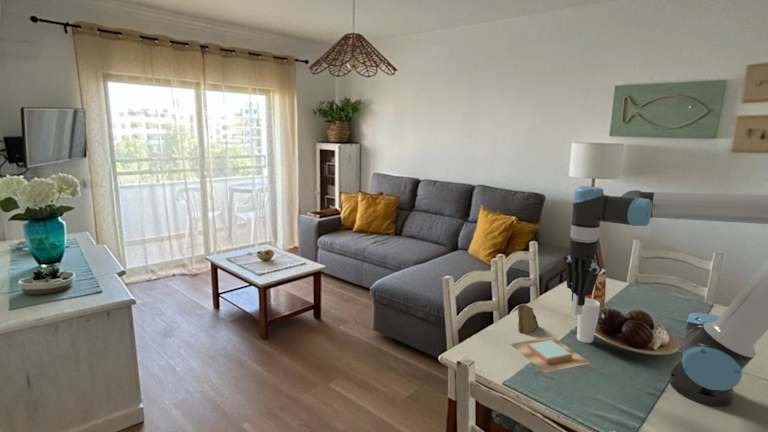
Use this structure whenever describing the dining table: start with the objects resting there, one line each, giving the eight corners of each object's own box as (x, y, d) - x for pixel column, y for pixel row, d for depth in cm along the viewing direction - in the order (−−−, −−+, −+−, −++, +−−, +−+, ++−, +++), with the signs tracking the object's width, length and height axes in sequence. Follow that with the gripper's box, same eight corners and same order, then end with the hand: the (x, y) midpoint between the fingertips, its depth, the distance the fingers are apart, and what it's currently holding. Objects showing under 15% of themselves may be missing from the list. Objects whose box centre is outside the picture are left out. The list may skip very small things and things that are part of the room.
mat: (590, 364, 134) (590, 363, 134) (544, 374, 129) (544, 372, 129) (552, 337, 151) (552, 336, 151) (509, 345, 145) (510, 343, 145)
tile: (572, 354, 136) (551, 339, 146) (547, 359, 133) (527, 343, 142) (571, 358, 137) (550, 343, 146) (546, 363, 134) (527, 348, 143)
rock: (532, 314, 164) (509, 313, 162) (543, 304, 158) (520, 303, 156) (541, 340, 157) (517, 340, 155) (553, 330, 151) (529, 330, 149)
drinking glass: (573, 342, 148) (578, 303, 145) (575, 334, 154) (579, 296, 151) (594, 347, 145) (600, 307, 142) (595, 338, 151) (600, 300, 148)
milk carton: (573, 305, 178) (578, 261, 174) (588, 302, 182) (594, 258, 178) (591, 314, 170) (597, 268, 166) (607, 310, 174) (613, 265, 170)
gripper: (612, 243, 117) (603, 321, 122) (577, 233, 129) (571, 303, 134) (591, 246, 115) (583, 324, 120) (558, 235, 127) (552, 306, 132)
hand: (576, 313), depth 127 cm, fingers closed
